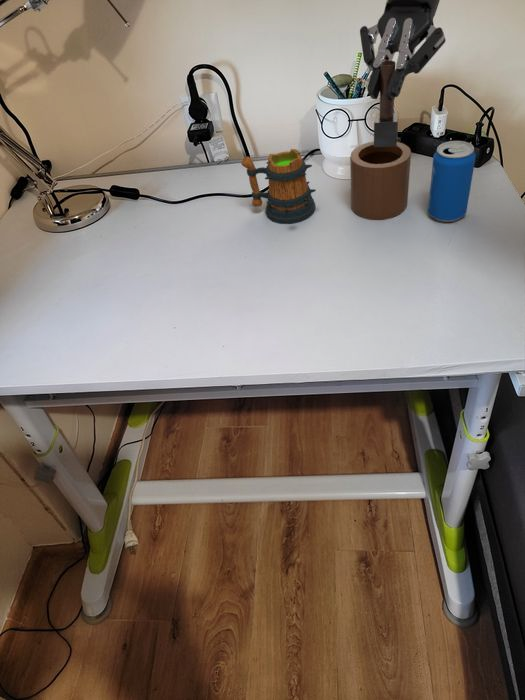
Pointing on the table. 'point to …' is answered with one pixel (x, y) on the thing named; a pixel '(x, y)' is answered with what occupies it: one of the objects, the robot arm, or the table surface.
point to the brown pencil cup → (379, 180)
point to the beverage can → (451, 180)
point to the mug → (283, 187)
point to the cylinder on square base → (386, 111)
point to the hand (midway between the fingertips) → (381, 97)
